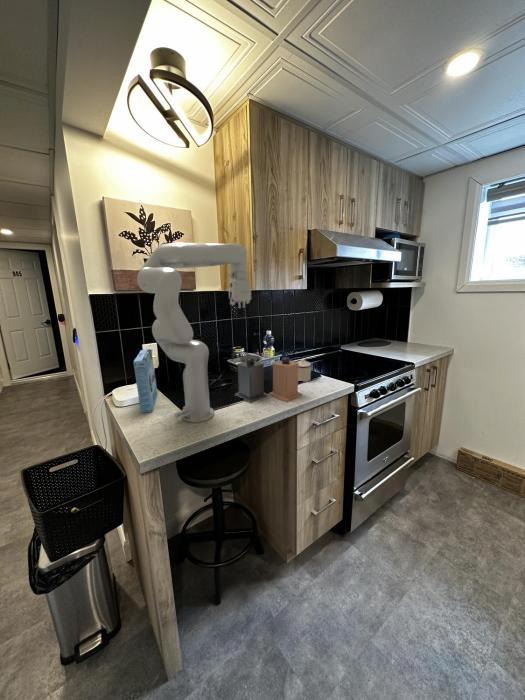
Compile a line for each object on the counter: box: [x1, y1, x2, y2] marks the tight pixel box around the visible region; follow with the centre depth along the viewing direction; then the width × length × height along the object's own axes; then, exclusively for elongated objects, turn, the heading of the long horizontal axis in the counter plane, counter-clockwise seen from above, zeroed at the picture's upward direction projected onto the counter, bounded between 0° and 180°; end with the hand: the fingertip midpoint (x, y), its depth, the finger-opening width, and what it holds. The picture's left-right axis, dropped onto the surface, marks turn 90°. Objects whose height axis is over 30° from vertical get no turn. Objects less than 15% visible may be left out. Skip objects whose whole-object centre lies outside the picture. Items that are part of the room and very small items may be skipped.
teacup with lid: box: [296, 358, 312, 383], centre depth 150 cm, size 12×9×12 cm
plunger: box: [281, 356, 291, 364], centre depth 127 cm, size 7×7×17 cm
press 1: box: [234, 361, 269, 404], centre depth 128 cm, size 11×12×16 cm
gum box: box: [133, 348, 158, 414], centre depth 121 cm, size 19×5×23 cm, turn 15°
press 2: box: [268, 359, 303, 403], centre depth 128 cm, size 11×12×16 cm
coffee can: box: [240, 354, 261, 363], centre depth 144 cm, size 10×10×14 cm
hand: (240, 316), depth 128 cm, fingers closed
